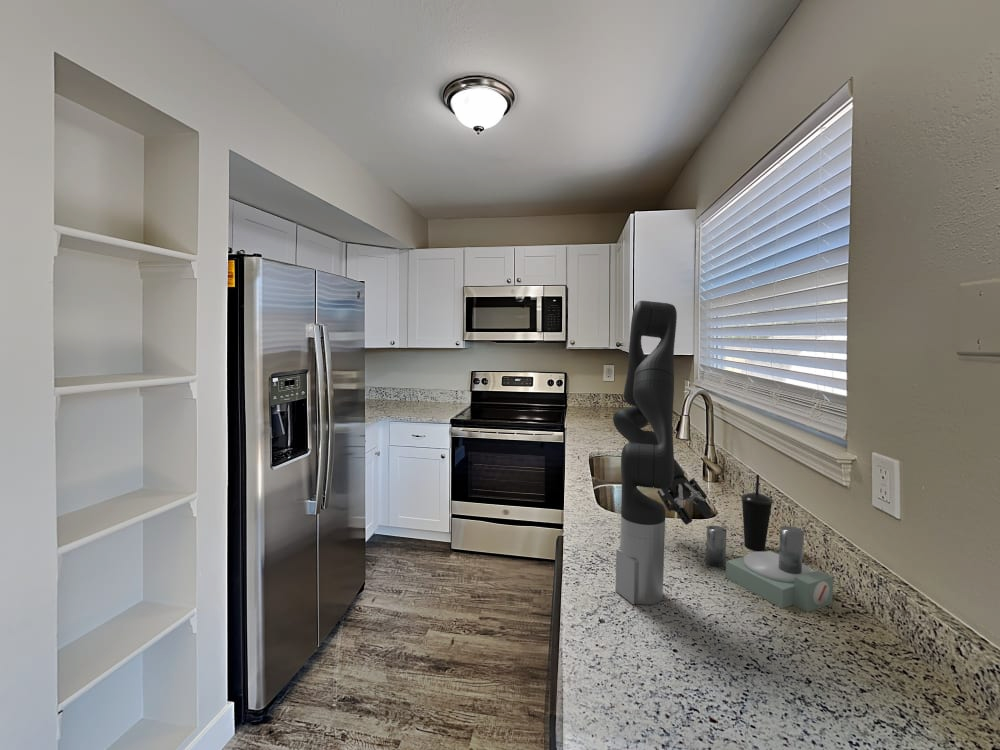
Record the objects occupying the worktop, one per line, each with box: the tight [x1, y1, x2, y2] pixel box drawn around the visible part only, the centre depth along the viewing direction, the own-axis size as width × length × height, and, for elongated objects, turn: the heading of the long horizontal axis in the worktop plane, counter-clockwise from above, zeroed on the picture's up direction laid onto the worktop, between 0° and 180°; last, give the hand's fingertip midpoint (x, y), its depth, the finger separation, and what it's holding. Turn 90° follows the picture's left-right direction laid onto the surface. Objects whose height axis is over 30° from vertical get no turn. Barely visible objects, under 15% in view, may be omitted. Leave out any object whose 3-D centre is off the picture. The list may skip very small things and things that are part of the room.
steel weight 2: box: [778, 525, 805, 574], centre depth 104 cm, size 4×4×9 cm
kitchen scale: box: [725, 549, 834, 613], centre depth 105 cm, size 15×18×6 cm
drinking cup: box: [740, 474, 774, 552], centre depth 126 cm, size 8×8×20 cm
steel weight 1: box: [705, 525, 728, 569], centre depth 117 cm, size 4×4×9 cm
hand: (699, 519), depth 120 cm, fingers open, 8 cm apart
